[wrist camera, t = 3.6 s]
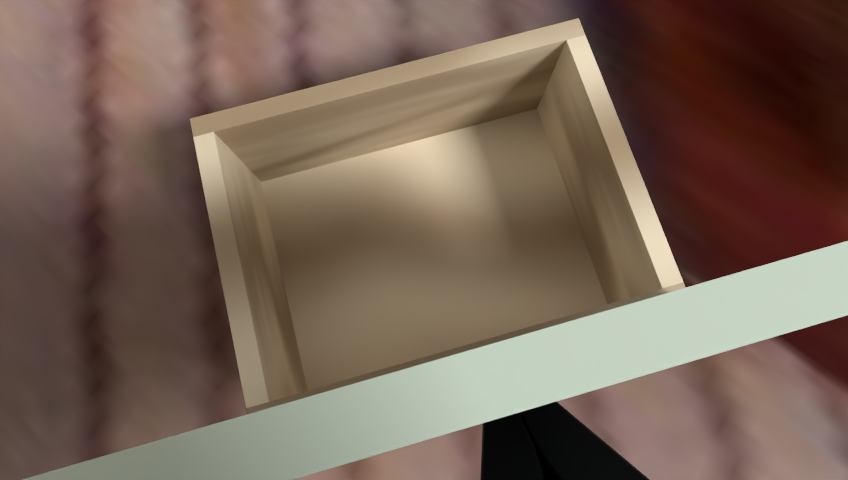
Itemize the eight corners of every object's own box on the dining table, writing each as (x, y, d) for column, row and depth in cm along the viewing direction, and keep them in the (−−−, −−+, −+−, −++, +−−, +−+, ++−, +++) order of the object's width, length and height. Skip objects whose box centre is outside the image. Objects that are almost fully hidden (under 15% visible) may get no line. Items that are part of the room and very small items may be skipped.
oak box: (623, 318, 19) (691, 303, 14) (298, 412, 18) (250, 431, 13) (543, 98, 21) (578, 18, 16) (247, 177, 20) (189, 118, 15)
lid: (689, 293, 14) (703, 325, 14) (247, 421, 13) (253, 457, 13) (1145, 121, 5) (1209, 206, 5) (-147, 488, 4) (-150, 610, 4)
